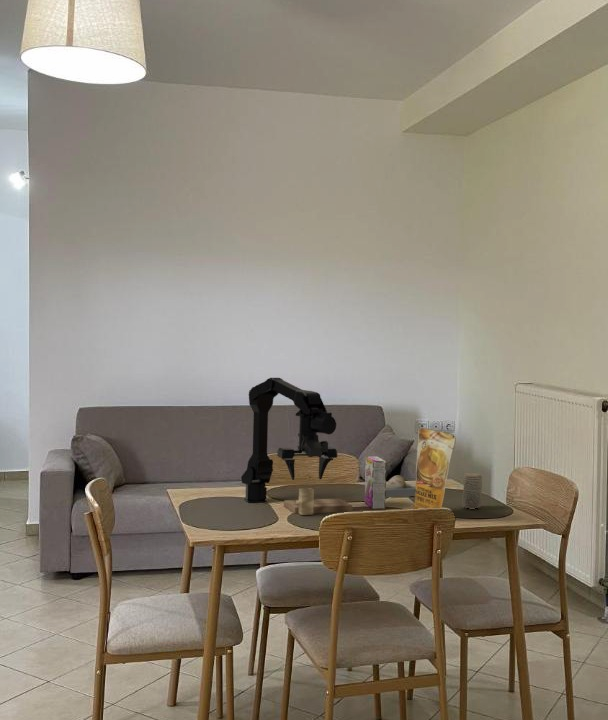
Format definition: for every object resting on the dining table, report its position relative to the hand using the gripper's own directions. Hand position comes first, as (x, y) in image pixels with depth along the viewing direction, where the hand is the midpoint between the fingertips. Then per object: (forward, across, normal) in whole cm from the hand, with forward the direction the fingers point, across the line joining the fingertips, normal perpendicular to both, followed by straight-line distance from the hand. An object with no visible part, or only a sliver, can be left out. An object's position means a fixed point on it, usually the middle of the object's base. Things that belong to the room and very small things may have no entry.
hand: (306, 479), depth 269 cm
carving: (+12, +60, -1) cm, 61 cm away
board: (+11, +7, +8) cm, 16 cm away
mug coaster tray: (+11, +44, +29) cm, 54 cm away
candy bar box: (+12, +28, +9) cm, 32 cm away
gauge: (+11, 0, +3) cm, 11 cm away
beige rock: (+12, +44, +28) cm, 53 cm away
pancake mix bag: (+12, +40, -9) cm, 43 cm away
